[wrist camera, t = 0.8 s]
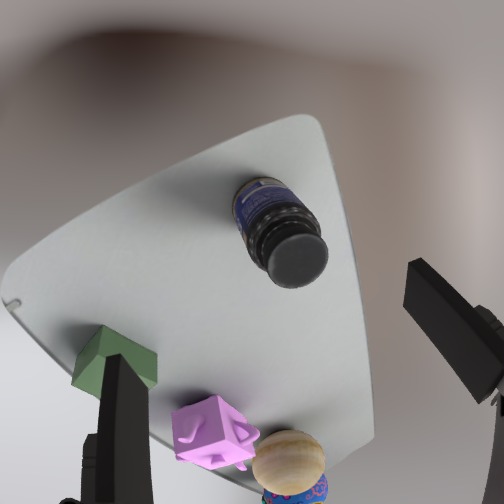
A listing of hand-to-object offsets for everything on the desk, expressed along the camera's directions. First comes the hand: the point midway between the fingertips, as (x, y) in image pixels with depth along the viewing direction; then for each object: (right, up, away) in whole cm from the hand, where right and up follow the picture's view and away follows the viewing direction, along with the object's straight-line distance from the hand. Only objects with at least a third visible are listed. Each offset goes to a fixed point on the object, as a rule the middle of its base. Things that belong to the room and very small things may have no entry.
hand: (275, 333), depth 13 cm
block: (-19, -11, +25) cm, 33 cm away
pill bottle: (0, +8, +19) cm, 20 cm away
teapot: (-8, -23, +35) cm, 43 cm away
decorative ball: (+5, -36, +46) cm, 58 cm away
